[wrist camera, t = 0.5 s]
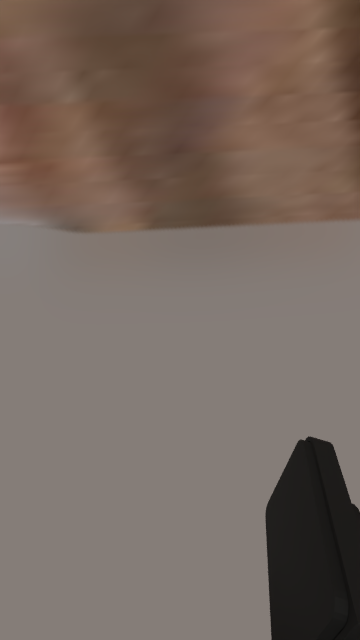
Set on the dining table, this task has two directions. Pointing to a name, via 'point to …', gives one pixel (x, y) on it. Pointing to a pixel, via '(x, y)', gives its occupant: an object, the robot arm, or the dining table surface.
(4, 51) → the dining table surface
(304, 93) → the dining table surface
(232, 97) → the dining table surface
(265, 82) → the dining table surface
